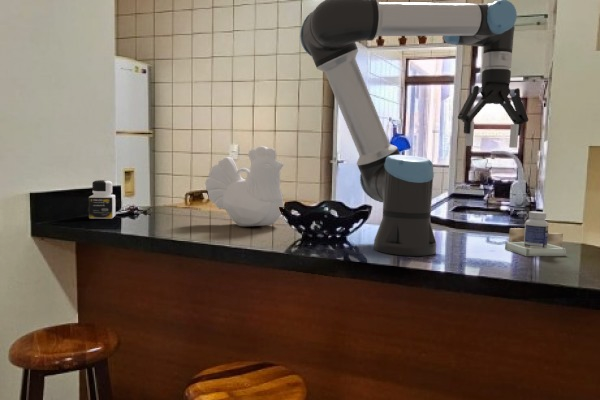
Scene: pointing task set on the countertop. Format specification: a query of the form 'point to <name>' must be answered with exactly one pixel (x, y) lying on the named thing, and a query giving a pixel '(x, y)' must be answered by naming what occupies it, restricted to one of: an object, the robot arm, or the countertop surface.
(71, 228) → the countertop surface
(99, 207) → the medicine bottle
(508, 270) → the countertop surface
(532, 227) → the pill bottle
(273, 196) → the decorative rooster
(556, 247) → the tray
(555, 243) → the clevis block
